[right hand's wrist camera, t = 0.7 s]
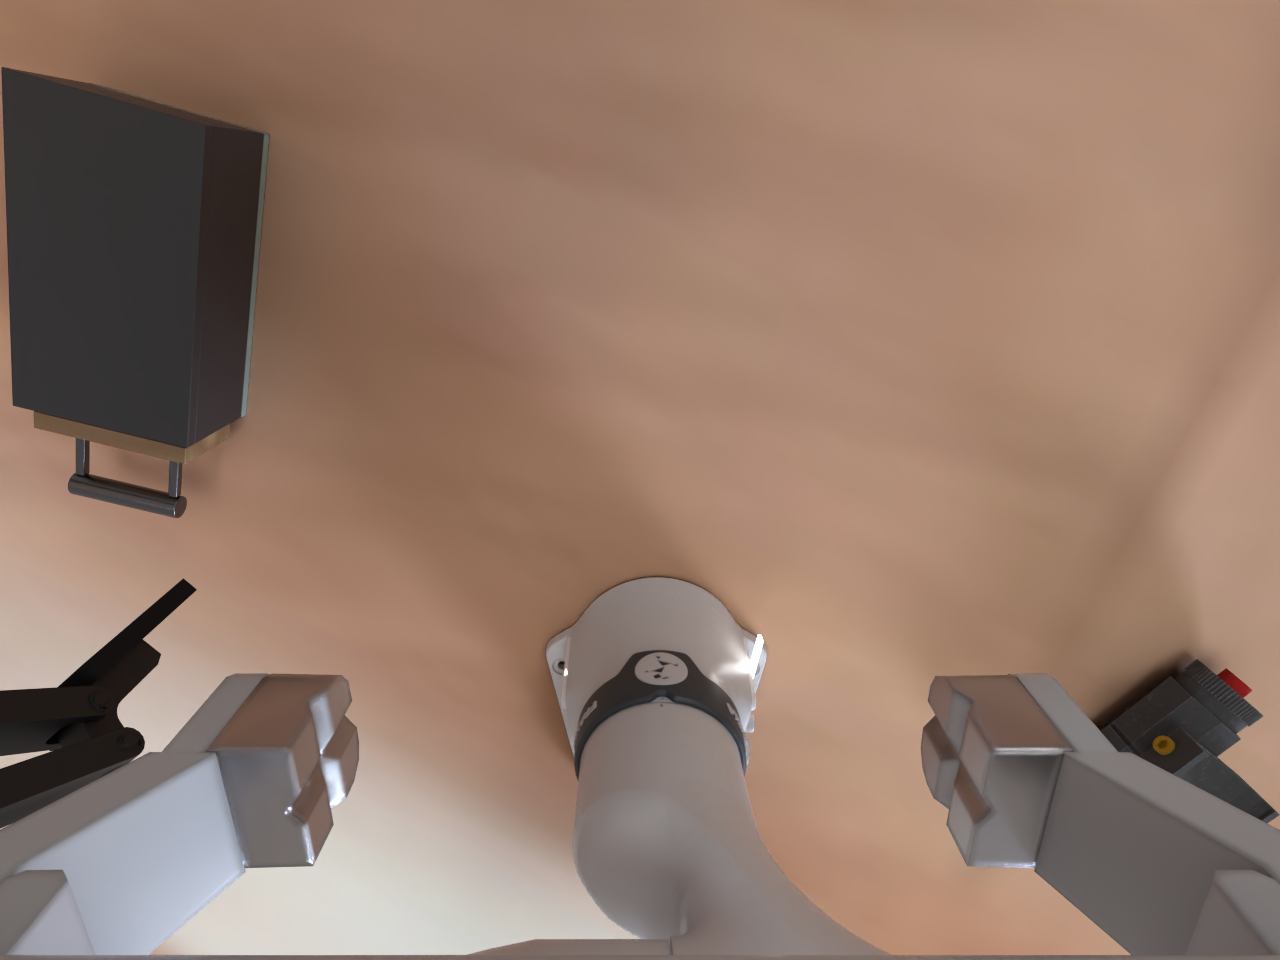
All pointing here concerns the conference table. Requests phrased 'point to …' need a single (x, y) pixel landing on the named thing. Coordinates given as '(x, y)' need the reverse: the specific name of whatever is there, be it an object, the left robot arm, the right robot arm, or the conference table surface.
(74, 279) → the dark boxy piece
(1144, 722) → the laser sight
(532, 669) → the conference table surface
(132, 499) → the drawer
